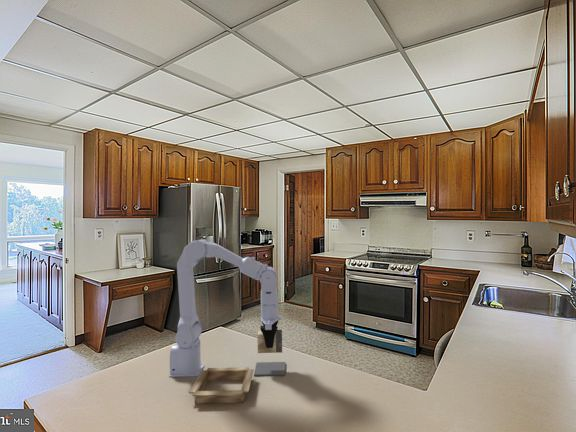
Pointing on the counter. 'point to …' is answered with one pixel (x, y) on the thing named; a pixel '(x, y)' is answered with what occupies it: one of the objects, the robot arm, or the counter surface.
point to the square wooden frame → (219, 375)
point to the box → (276, 346)
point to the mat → (270, 369)
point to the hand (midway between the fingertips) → (269, 344)
